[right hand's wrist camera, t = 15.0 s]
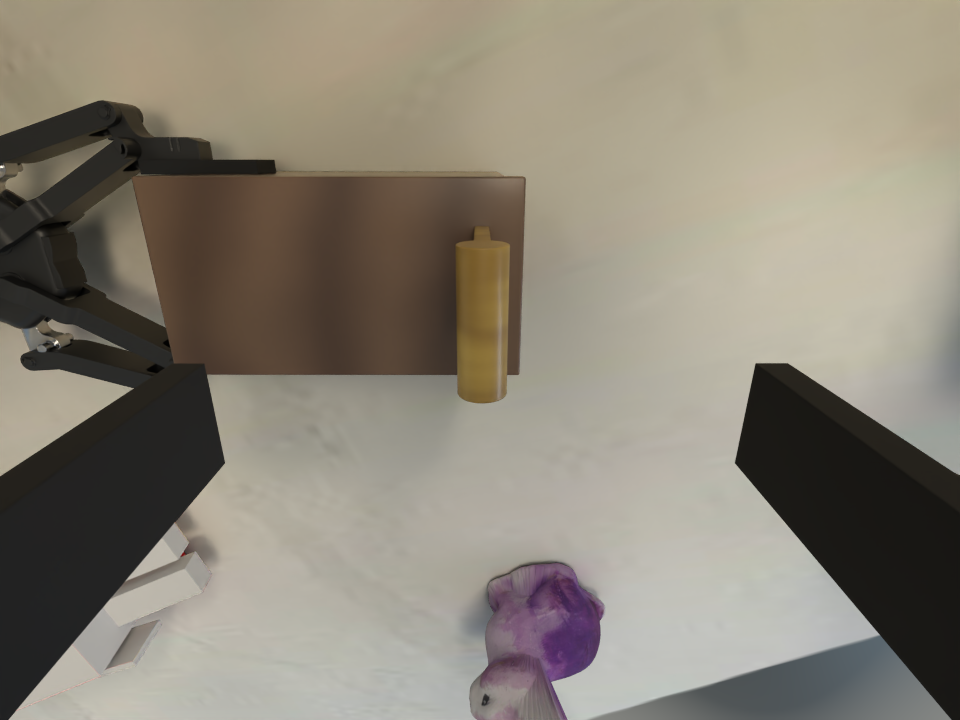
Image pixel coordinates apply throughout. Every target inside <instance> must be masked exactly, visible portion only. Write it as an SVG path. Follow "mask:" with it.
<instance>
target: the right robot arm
mask: <svg viewBox="0 0 960 720" xmlns="http://www.w3.org/2000/svg"><path fill="white" fill-rule="evenodd" d="M224 464H225V460H224V456H223V451H222V446H221V441H220V436H219V432H218V427H217V422H216V417H215V412H214V408H213V403H212V398H211V393H210V388H209V383H208V379H207V374H206V369H205V364H204V363H172V364H171V365H169V366H168V367H166V368H164V369H163V370H161V371H160V372H158V373H157V374H155V375H154V376H152V377H151V378H149V379H148V380H146V381H145V382H143V383H142V384H140V385H139V386H137V387H136V388H134V389H133V390H131V391H129V392H128V393H126V394H125V395H123V396H122V397H120V398H119V399H117V400H116V401H114V402H113V403H111V404H110V405H108V406H107V407H105V408H104V409H102V410H101V411H99V412H98V413H96V414H94V415H93V416H91V417H90V418H88V419H87V420H85V421H84V422H82V423H81V424H79V425H78V426H76V427H75V428H73V429H72V430H70V431H69V432H67V433H66V434H64V435H63V436H61V437H60V438H58V439H56V440H55V441H53V442H52V443H50V444H49V445H47V446H46V447H44V448H43V449H41V450H40V451H38V452H37V453H35V454H34V455H32V456H31V457H29V458H28V459H26V460H25V461H23V462H21V463H20V464H18V465H17V466H15V467H14V468H12V469H11V470H9V471H8V472H6V473H5V474H3V475H2V476H0V720H9V718H10V717H11V716H12V715H13V714H14V712H15V711H16V710H17V709H18V708H19V707H20V705H21V704H22V703H23V702H24V701H25V699H26V698H27V697H28V696H29V695H30V694H31V692H32V691H33V690H34V689H35V688H36V686H37V685H38V684H39V683H40V682H41V680H42V679H43V678H44V677H45V676H46V675H47V673H48V672H49V671H50V670H51V669H52V667H53V666H54V665H55V664H56V663H57V662H58V660H59V659H60V658H61V657H62V656H63V654H64V653H65V652H66V651H67V650H68V649H69V647H70V646H71V645H72V644H73V643H74V641H75V640H76V639H77V638H78V637H79V635H80V634H81V633H82V632H83V631H84V630H85V628H86V627H87V626H88V625H89V624H90V622H91V621H92V620H93V619H94V618H95V617H96V615H97V614H98V613H99V612H100V611H101V609H102V608H103V607H104V606H105V605H106V603H107V602H108V601H109V600H110V599H111V598H112V596H113V595H114V594H115V593H116V592H117V590H118V589H119V588H120V587H121V586H122V585H123V583H124V582H125V581H126V580H127V579H128V577H129V576H130V575H131V574H132V573H133V572H134V570H135V569H136V568H137V567H138V566H139V564H140V563H141V562H142V561H143V560H144V558H145V557H146V556H147V555H148V554H149V553H150V551H151V550H152V549H153V548H154V547H155V545H156V544H157V543H158V542H159V541H160V540H161V538H162V537H163V536H164V535H165V534H166V532H167V531H168V530H169V529H170V528H171V527H172V525H173V524H174V523H175V522H176V521H177V519H178V518H179V517H180V516H181V515H182V513H183V512H184V511H185V510H186V509H187V508H188V506H189V505H190V504H191V503H192V502H193V500H194V499H195V498H196V497H197V496H198V495H199V493H200V492H201V491H202V490H203V489H204V487H205V486H206V485H207V484H208V483H209V481H210V480H211V479H212V478H213V477H214V476H215V474H216V473H217V472H218V471H219V470H220V468H221V467H222V466H223V465H224ZM735 464H736V465H737V466H738V467H739V468H740V470H741V471H742V472H743V473H744V474H745V476H746V477H747V478H748V479H749V480H750V481H751V483H752V484H753V485H754V486H755V487H756V489H757V490H758V491H759V492H760V493H761V495H762V496H763V497H764V498H765V499H766V500H767V502H768V503H769V504H770V505H771V506H772V508H773V509H774V510H775V511H776V512H777V513H778V515H779V516H780V517H781V518H782V519H783V521H784V522H785V523H786V524H787V525H788V527H789V528H790V529H791V530H792V531H793V532H794V534H795V535H796V536H797V537H798V538H799V540H800V541H801V542H802V543H803V544H804V545H805V547H806V548H807V549H808V550H809V551H810V553H811V554H812V555H813V556H814V557H815V558H816V560H817V561H818V562H819V563H820V564H821V566H822V567H823V568H824V569H825V570H826V572H827V573H828V574H829V575H830V576H831V577H832V579H833V580H834V581H835V582H836V583H837V585H838V586H839V587H840V588H841V589H842V590H843V592H844V593H845V594H846V595H847V596H848V598H849V599H850V600H851V601H852V602H853V603H854V605H855V606H856V607H857V608H858V609H859V611H860V612H861V613H862V614H863V615H864V617H865V618H866V619H867V620H868V621H869V622H870V624H871V625H872V626H873V627H874V628H875V630H876V631H877V632H878V633H879V634H880V635H881V637H882V638H883V639H884V640H885V641H886V643H887V644H888V645H889V646H890V647H891V649H892V650H893V651H894V652H895V653H896V654H897V656H898V657H899V658H900V659H901V660H902V662H903V663H904V664H905V665H906V666H907V667H908V669H909V670H910V671H911V672H912V673H913V675H914V676H915V677H916V678H917V679H918V680H919V682H920V683H921V684H922V685H923V686H924V688H925V689H926V690H927V691H928V692H929V694H930V695H931V696H932V697H933V698H934V699H935V701H936V702H937V703H938V704H939V705H940V707H941V708H942V709H943V710H944V711H945V712H946V714H947V715H948V716H949V717H950V718H951V720H960V475H958V474H956V473H954V472H952V471H951V470H949V469H948V468H946V467H945V466H943V465H942V464H940V463H939V462H937V461H935V460H934V459H932V458H931V457H929V456H928V455H926V454H925V453H923V452H922V451H920V450H919V449H917V448H916V447H914V446H913V445H911V444H910V443H908V442H907V441H905V440H904V439H902V438H900V437H899V436H897V435H896V434H894V433H893V432H891V431H890V430H888V429H887V428H885V427H884V426H882V425H881V424H879V423H878V422H876V421H875V420H873V419H872V418H870V417H869V416H867V415H866V414H864V413H862V412H861V411H859V410H858V409H856V408H855V407H853V406H852V405H850V404H849V403H847V402H846V401H844V400H843V399H841V398H840V397H838V396H837V395H835V394H834V393H832V392H831V391H829V390H827V389H826V388H824V387H823V386H821V385H820V384H818V383H817V382H815V381H814V380H812V379H811V378H809V377H808V376H806V375H805V374H803V373H802V372H800V371H799V370H797V369H796V368H794V367H792V366H791V365H789V364H788V363H756V364H755V369H754V374H753V379H752V383H751V388H750V393H749V398H748V403H747V408H746V412H745V417H744V422H743V427H742V432H741V436H740V441H739V446H738V451H737V456H736V460H735Z"/></svg>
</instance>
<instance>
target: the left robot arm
mask: <svg viewBox="0 0 960 720" xmlns="http://www.w3.org/2000/svg"><path fill="white" fill-rule="evenodd" d="M106 138H108V139H109V140H114V141H113V142H112V143H110V144H109V145H108V146H106V147H105V148H104V149H102V150H101V151H100V152H98V153H97V154H96V155H94V156H93V157H92V158H90V159H89V160H88V161H86V162H85V163H83V164H82V165H81V166H79V167H78V168H77V169H75V170H74V171H73V172H71V173H70V174H69V175H67V176H66V177H65V178H63V179H62V180H61V181H59V182H58V183H57V184H55V185H54V186H53V187H51V188H50V189H49V190H47V191H46V192H45V193H43V194H42V195H40V196H39V197H38V198H35V199H33V200H30V201H26V200H25V199H23V198H21V197H20V196H18V195H16V194H15V193H13V192H11V191H10V190H7V189H5V182H6V181H7V180H8V179H9V178H13V177H15V176H17V174H18V172H21V171H22V170H23V166H22V164H21V163H35V162H39V161H43V160H46V159H49V158H52V157H55V156H57V155H60V154H63V153H66V152H69V151H72V150H75V149H77V148H80V147H83V146H86V145H89V144H92V143H95V142H98V141H100V140H103V139H106ZM140 172H141V174H266V173H276V168H275V161H274V160H213V158H212V152H211V146H210V142H208V141H206V140H203V139H201V138H188V137H153V136H152V135H150V134H149V133H148V132H147V130H146V129H145V127H144V125H143V115H142V113H141V111H140V110H139V109H138V108H137V107H136V106H133V105H128V104H122V103H116V102H109V101H103V100H102V101H97V102H94V103H91V104H88V105H86V106H83V107H80V108H77V109H74V110H72V111H69V112H66V113H63V114H60V115H58V116H55V117H52V118H49V119H46V120H44V121H41V122H38V123H35V124H33V125H30V126H27V127H24V128H21V129H19V130H16V131H13V132H10V133H7V134H5V135H2V136H0V322H4V323H7V324H9V325H11V326H13V327H16V328H20V329H22V332H23V334H24V337H25V339H26V342H27V344H28V347H29V349H30V351H29V352H27V353H25V354H23V355H22V356H21V363H22V365H23V366H24V367H25V368H26V369H29V370H33V371H37V370H55V369H60V370H64V371H68V372H72V373H76V374H80V375H84V376H88V377H92V378H96V379H100V380H104V381H108V382H112V383H116V384H119V385H123V386H127V387H131V388H136V387H137V386H139V385H140V384H142V383H143V382H145V381H146V380H148V379H149V378H151V377H152V376H154V375H155V374H157V373H158V372H160V371H161V370H163V369H164V368H166V367H168V366H169V365H171V364H172V363H174V361H173V356H172V352H171V348H170V343H169V339H168V335H167V330H166V328H165V327H163V326H161V325H159V324H157V323H155V322H153V321H151V320H149V319H147V318H145V317H143V316H141V315H139V314H137V313H135V312H133V311H131V310H129V309H127V308H125V307H123V306H121V305H119V304H117V303H114V302H112V301H110V300H108V299H107V298H106V295H105V293H103V292H101V291H99V290H97V289H95V288H93V287H91V286H89V285H87V284H85V283H84V282H87V279H86V275H85V272H84V269H83V267H82V265H81V264H80V262H79V260H78V258H77V243H76V239H75V236H74V232H68V230H67V229H66V228H68V227H69V226H71V225H72V224H73V223H75V222H76V221H78V220H79V219H80V218H82V217H83V216H84V215H85V214H84V212H85V211H87V210H88V209H90V208H91V207H92V206H94V205H95V204H97V203H98V202H99V201H101V200H102V199H103V198H105V197H106V196H108V195H109V194H110V193H112V192H113V191H115V190H116V189H117V188H119V187H120V186H122V185H123V184H124V183H126V182H127V181H128V180H130V179H131V178H132V177H133V176H135V175H137V174H138V173H140ZM51 319H53V320H55V321H57V322H60V323H63V324H73V325H77V326H79V327H81V328H83V329H85V330H87V331H89V332H91V333H93V334H96V335H98V336H100V337H102V338H104V339H106V340H108V341H110V342H112V343H114V344H116V345H118V346H121V347H123V348H125V349H127V350H129V351H127V350H123V349H119V348H115V347H111V346H108V345H104V344H100V343H96V342H92V341H87V340H73V339H74V338H73V336H72V335H71V334H69V333H66V334H64V333H61V332H56V331H54V330H52V329H51V328H50V327H49V326H48V324H47V322H48V321H50V320H51Z"/></svg>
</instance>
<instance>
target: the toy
mask: <svg viewBox="0 0 960 720" xmlns="http://www.w3.org/2000/svg"><path fill="white" fill-rule="evenodd" d="M188 544H189V541H188V540H187V539H186V537H185V536H184V534H183V533H182V532H181V530H180V529H179V527H178V526H177V525H176V523H174V524H173V525H172V527H171V528H170V529H169V530H168V531H167V532H166V534H165V535H164V536H163V537H162V538H161V540H160V541H159V542H158V543H157V544H156V545H155V547H154V548H153V549H152V550H151V551H150V553H149V554H148V555H147V556H146V557H145V558H144V560H143V561H142V562H141V563H140V564H139V566H138V567H137V568H136V569H135V570H134V572H133V573H132V574H131V575H130V576H129V577H128V579H127V580H126V581H125V582H124V583H123V585H122V586H121V587H120V588H119V589H118V590H117V592H116V593H115V594H114V595H113V596H112V598H111V599H110V600H109V601H108V602H107V603H106V605H105V606H104V607H103V608H102V609H101V611H100V612H99V613H98V614H97V615H96V617H95V618H94V619H93V620H92V621H91V622H90V624H89V625H88V626H87V627H86V628H85V630H84V631H83V632H82V633H81V634H80V635H79V637H78V638H77V639H76V640H75V641H74V643H73V644H72V645H71V646H70V647H69V649H68V650H67V651H66V652H65V653H64V654H63V656H62V657H61V658H60V659H59V660H58V662H57V663H56V664H55V665H54V666H53V667H52V669H51V670H50V671H49V672H48V673H47V675H46V676H45V677H44V678H43V679H42V680H41V682H40V683H39V684H38V685H37V686H36V688H35V689H34V690H33V691H32V692H31V694H30V695H29V696H28V697H27V698H26V699H25V701H24V702H23V703H22V704H21V705H20V707H19V708H18V709H17V710H20V709H22V708H24V707H27V706H29V705H32V704H34V703H37V702H39V701H42V700H44V699H47V698H49V697H51V696H54V695H56V694H59V693H61V692H64V691H66V690H69V689H71V688H73V687H76V686H78V685H81V684H83V683H86V682H88V681H91V680H93V679H96V678H99V677H102V676H106V675H109V674H112V673H115V672H118V671H122V670H125V669H128V668H131V667H134V666H136V665H137V663H138V662H139V660H140V659H141V657H142V655H143V654H144V652H145V651H146V649H147V647H148V646H149V644H150V643H151V641H152V639H153V638H154V636H155V635H156V633H157V631H158V630H159V628H160V627H161V625H162V623H161V622H160V620H156V621H153V622H150V623H147V624H144V625H140V626H137V627H134V628H132V627H133V625H134V624H135V622H136V621H137V619H139V618H141V617H144V616H146V615H149V614H151V613H154V612H156V611H159V610H161V609H164V608H166V607H168V606H171V605H173V604H176V603H178V602H181V601H183V600H186V599H188V598H190V597H193V596H195V595H198V594H200V593H203V591H204V589H205V587H206V585H207V583H208V581H209V579H210V578H211V576H212V573H211V572H210V571H209V569H208V568H207V566H206V565H205V564H204V562H203V561H202V560H201V558H200V557H199V555H198V554H197V553H196V551H194V552H192V553H190V554H187V555H186V554H185V553H184V550H185V548H186V547H187V545H188ZM17 710H16V711H17Z"/></svg>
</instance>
